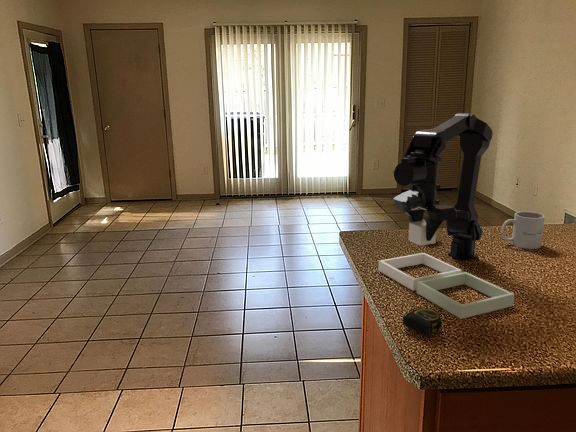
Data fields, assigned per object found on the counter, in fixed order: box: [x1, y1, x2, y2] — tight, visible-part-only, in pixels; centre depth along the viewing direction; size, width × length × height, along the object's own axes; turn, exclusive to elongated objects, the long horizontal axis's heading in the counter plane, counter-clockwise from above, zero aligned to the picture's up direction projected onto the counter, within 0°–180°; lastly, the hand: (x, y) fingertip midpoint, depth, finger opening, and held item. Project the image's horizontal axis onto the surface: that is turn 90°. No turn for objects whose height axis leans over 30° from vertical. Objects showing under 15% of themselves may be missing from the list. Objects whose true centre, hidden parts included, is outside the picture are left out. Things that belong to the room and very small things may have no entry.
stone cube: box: [408, 220, 437, 247], centre depth 127 cm, size 5×5×5 cm
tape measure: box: [402, 307, 443, 338], centre depth 101 cm, size 7×7×4 cm
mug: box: [500, 211, 545, 250], centre depth 155 cm, size 12×9×10 cm
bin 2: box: [416, 271, 515, 320], centre depth 116 cm, size 16×16×3 cm
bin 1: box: [377, 252, 463, 292], centre depth 131 cm, size 16×16×3 cm
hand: (422, 237), depth 128 cm, fingers closed on stone cube, 5 cm apart
